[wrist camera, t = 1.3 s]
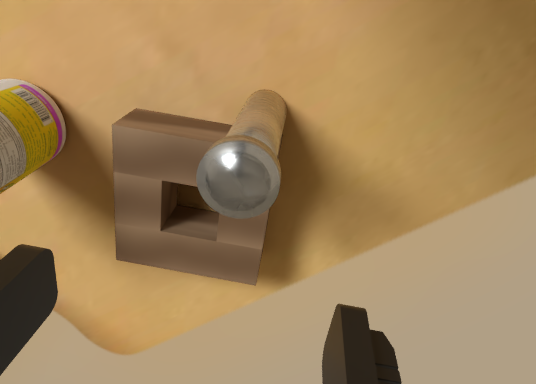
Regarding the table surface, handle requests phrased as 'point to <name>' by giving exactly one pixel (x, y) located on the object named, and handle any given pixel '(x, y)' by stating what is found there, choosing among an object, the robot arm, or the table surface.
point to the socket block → (165, 201)
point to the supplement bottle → (27, 130)
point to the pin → (245, 160)
